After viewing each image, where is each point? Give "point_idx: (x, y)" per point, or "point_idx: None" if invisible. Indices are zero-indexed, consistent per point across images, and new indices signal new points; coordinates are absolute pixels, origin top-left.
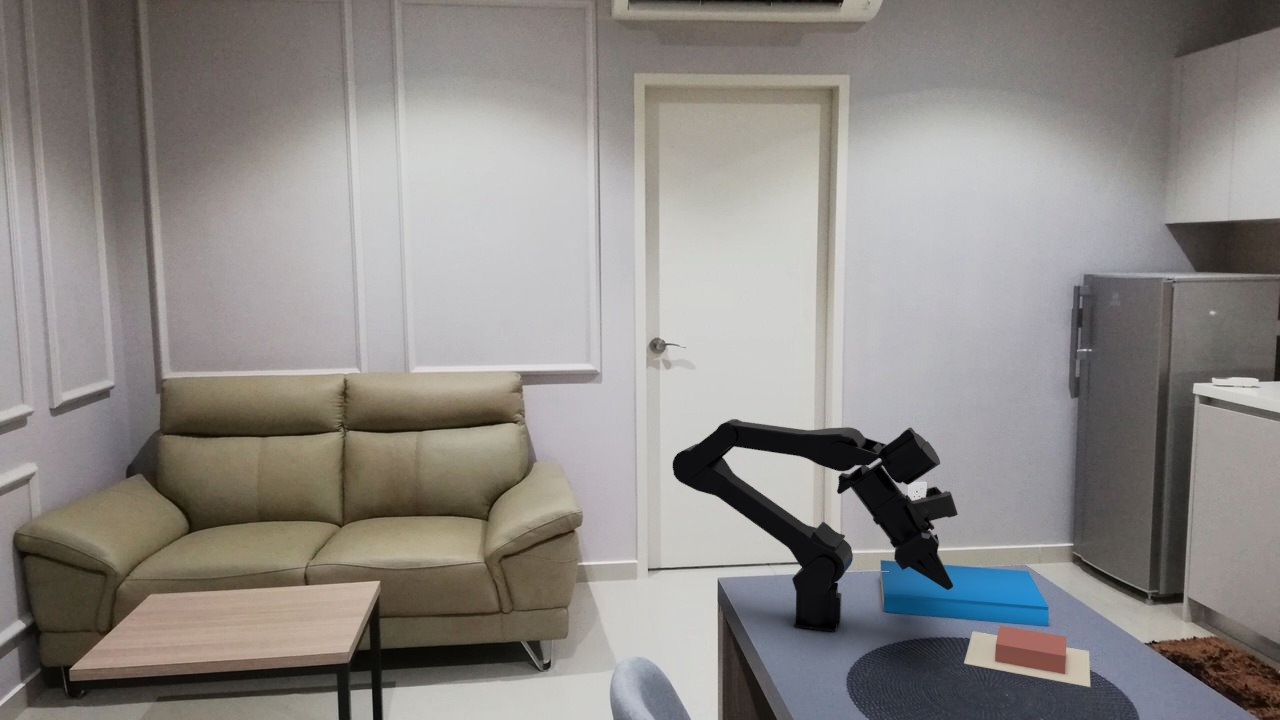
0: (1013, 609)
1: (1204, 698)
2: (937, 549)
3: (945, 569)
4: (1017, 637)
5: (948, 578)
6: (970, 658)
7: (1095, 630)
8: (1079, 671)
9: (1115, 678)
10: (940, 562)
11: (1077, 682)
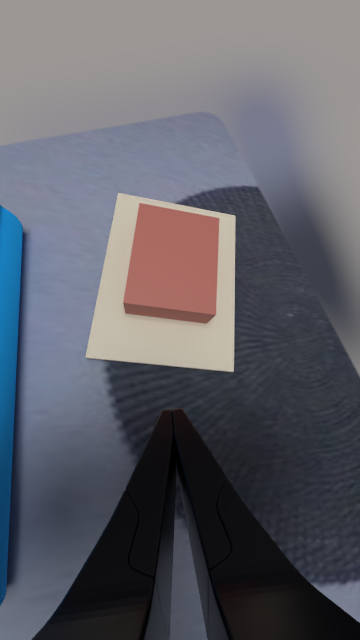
0: (3, 269)
1: (202, 121)
2: (355, 624)
3: (149, 459)
4: (172, 276)
5: (197, 433)
6: (210, 361)
7: (15, 168)
8: None
9: (186, 185)
10: (248, 510)
11: (230, 226)
